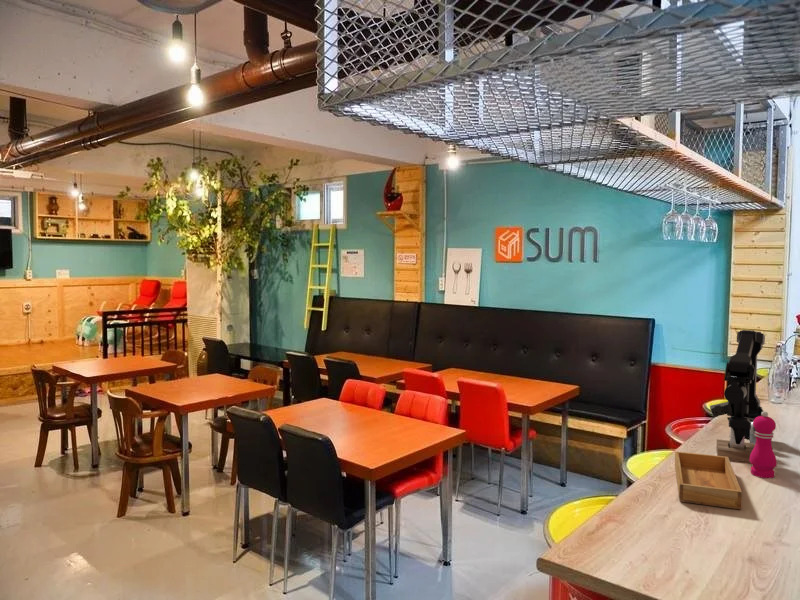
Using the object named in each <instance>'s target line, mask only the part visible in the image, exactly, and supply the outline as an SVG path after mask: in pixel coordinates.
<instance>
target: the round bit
mask: <svg viewBox="0 0 800 600" xmlns="http://www.w3.org/2000/svg"><path fill="white" fill-rule="evenodd" d="M750 422H751V429H750V438H749V443H754V444H756V436H755V435H754V434H755V430H756V429H755V428H754V426H753V421H750Z"/></svg>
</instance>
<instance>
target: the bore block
mask: <svg viewBox="0 0 800 600" xmlns="http://www.w3.org/2000/svg"><path fill="white" fill-rule="evenodd" d="M754 447H755V444H754V443H750V442H745V441H744V450H743V449H735V448H730V440H727V439H719V438H717V439H716V456H725V457H728V458H729V461H739V462H746V463H750V461H749V459H750V454H751V452H752V450H753V449H754Z"/></svg>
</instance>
